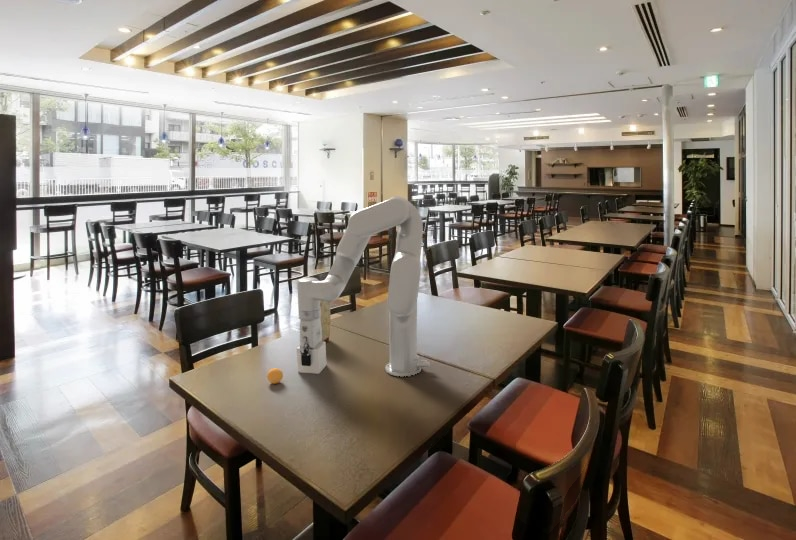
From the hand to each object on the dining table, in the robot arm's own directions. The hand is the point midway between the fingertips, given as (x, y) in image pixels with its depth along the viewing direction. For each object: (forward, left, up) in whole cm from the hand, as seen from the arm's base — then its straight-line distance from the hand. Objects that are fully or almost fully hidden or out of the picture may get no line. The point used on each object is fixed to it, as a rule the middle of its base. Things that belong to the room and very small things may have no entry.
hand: (311, 360), depth 161 cm
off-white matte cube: (0, 0, -3) cm, 3 cm away
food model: (+6, -26, -3) cm, 27 cm away
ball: (+8, +13, -1) cm, 15 cm away
